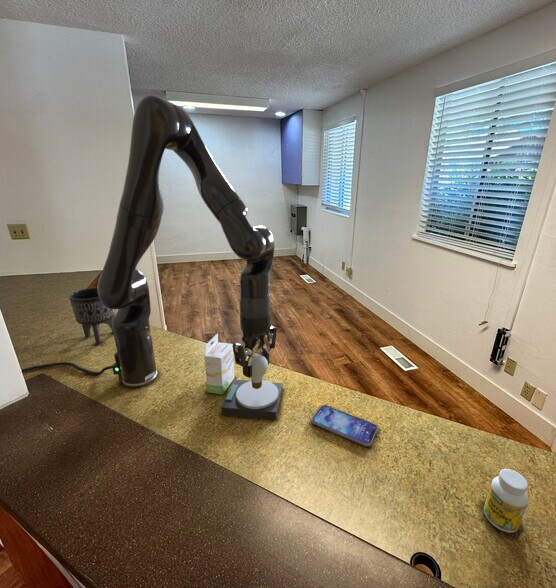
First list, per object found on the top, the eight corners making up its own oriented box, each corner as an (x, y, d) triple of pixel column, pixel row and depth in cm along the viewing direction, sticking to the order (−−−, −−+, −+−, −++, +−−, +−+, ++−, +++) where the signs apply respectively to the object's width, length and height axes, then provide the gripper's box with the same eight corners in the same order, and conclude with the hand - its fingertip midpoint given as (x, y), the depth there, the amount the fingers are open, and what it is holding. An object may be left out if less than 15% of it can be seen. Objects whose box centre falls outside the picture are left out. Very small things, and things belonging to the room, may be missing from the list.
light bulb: (271, 384, 83) (271, 352, 79) (262, 397, 77) (262, 363, 74) (252, 379, 84) (251, 347, 81) (241, 392, 79) (240, 358, 76)
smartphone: (322, 403, 81) (378, 425, 74) (322, 406, 81) (378, 428, 74) (310, 420, 75) (369, 445, 68) (310, 423, 75) (369, 448, 68)
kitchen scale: (221, 415, 77) (220, 404, 76) (234, 386, 89) (234, 376, 88) (275, 420, 76) (275, 409, 75) (282, 390, 87) (282, 380, 86)
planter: (110, 326, 122) (102, 285, 116) (126, 336, 115) (118, 292, 109) (73, 338, 113) (62, 293, 107) (89, 349, 106) (78, 302, 100)
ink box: (223, 395, 84) (220, 348, 80) (206, 392, 85) (202, 346, 80) (235, 377, 93) (233, 334, 88) (220, 375, 93) (217, 332, 88)
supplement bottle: (523, 522, 54) (538, 482, 51) (510, 540, 51) (526, 500, 48) (490, 498, 58) (503, 460, 55) (477, 513, 55) (490, 475, 52)
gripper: (263, 299, 81) (264, 354, 87) (222, 316, 70) (225, 378, 75) (285, 306, 77) (284, 363, 83) (245, 325, 66) (247, 390, 71)
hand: (256, 370), depth 79 cm, fingers closed on light bulb, 6 cm apart
